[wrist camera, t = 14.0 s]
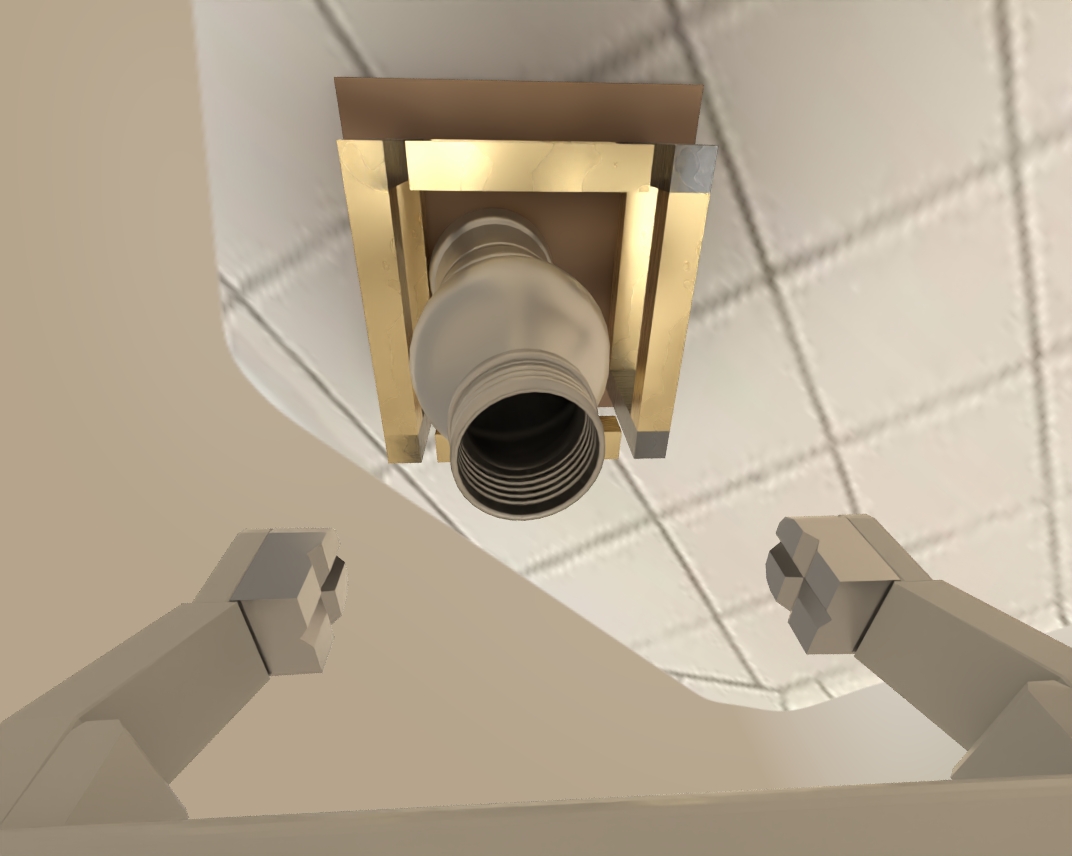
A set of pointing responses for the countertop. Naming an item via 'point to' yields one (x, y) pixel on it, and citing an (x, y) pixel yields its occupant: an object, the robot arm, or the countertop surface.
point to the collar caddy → (547, 166)
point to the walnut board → (532, 115)
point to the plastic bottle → (511, 367)
